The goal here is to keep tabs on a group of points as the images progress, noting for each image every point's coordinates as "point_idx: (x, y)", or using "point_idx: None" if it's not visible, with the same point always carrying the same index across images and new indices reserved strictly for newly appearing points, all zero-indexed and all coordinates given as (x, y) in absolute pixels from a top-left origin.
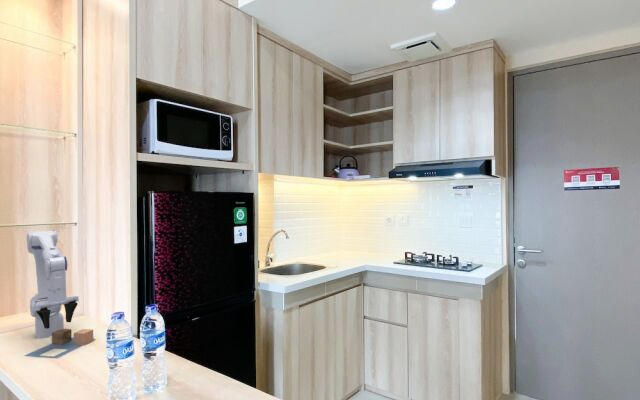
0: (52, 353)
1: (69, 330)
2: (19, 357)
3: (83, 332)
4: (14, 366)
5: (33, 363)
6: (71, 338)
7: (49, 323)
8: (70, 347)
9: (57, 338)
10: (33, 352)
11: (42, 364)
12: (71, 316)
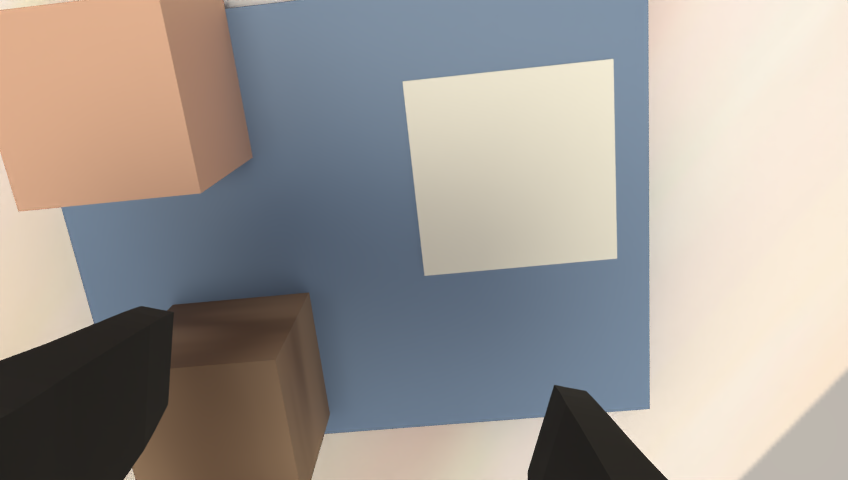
0: (541, 158)
1: None
2: None
3: (124, 54)
4: (832, 293)
5: (744, 171)
6: None
7: (578, 427)
8: (335, 116)
9: (303, 385)
10: None
11: (756, 39)
12: (74, 344)
